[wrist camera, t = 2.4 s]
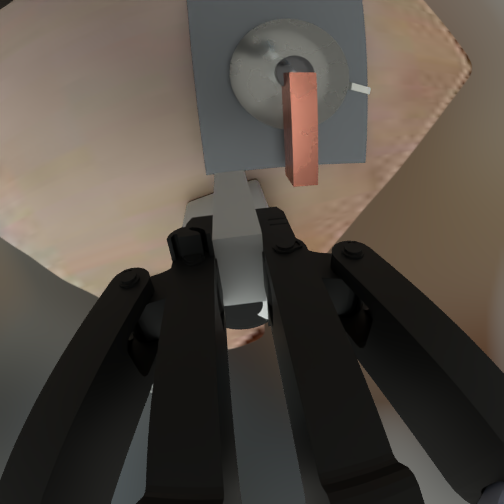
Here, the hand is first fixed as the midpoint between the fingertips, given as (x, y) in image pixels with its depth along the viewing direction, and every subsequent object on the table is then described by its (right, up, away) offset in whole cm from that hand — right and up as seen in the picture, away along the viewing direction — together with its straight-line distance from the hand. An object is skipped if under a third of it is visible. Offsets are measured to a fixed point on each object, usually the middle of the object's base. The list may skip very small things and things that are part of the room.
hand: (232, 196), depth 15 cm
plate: (+4, +14, +8) cm, 16 cm away
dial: (+4, +11, +8) cm, 14 cm away
